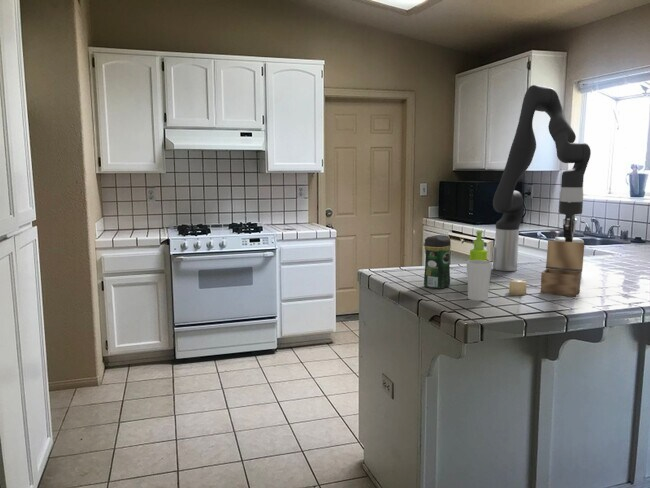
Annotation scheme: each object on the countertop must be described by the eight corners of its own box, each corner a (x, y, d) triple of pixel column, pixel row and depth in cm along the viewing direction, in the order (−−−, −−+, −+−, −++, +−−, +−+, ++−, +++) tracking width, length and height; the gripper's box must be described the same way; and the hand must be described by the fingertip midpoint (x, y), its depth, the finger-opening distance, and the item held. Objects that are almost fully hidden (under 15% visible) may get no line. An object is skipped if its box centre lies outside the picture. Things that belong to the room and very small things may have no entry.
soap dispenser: (486, 284, 196) (488, 230, 193) (485, 288, 189) (487, 232, 187) (469, 283, 198) (471, 229, 195) (468, 287, 191) (470, 231, 189)
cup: (461, 295, 178) (463, 260, 176) (485, 295, 179) (486, 259, 177) (470, 301, 170) (471, 264, 169) (494, 301, 171) (496, 263, 169)
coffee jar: (433, 283, 199) (435, 233, 196) (453, 286, 193) (454, 234, 191) (419, 287, 192) (421, 235, 189) (439, 290, 186) (440, 237, 184)
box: (540, 292, 182) (541, 272, 181) (545, 288, 190) (546, 268, 189) (575, 296, 176) (577, 275, 176) (579, 291, 184) (580, 271, 183)
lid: (547, 240, 189) (548, 240, 189) (545, 268, 189) (546, 268, 190) (584, 242, 182) (584, 242, 183) (581, 271, 182) (582, 271, 183)
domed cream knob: (507, 293, 181) (507, 281, 181) (511, 290, 186) (511, 279, 185) (524, 295, 178) (524, 283, 178) (527, 292, 183) (528, 280, 182)
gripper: (562, 199, 196) (560, 246, 198) (556, 200, 185) (553, 250, 187) (585, 199, 192) (582, 247, 194) (580, 201, 181) (577, 252, 183)
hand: (568, 249), depth 190 cm, fingers closed
